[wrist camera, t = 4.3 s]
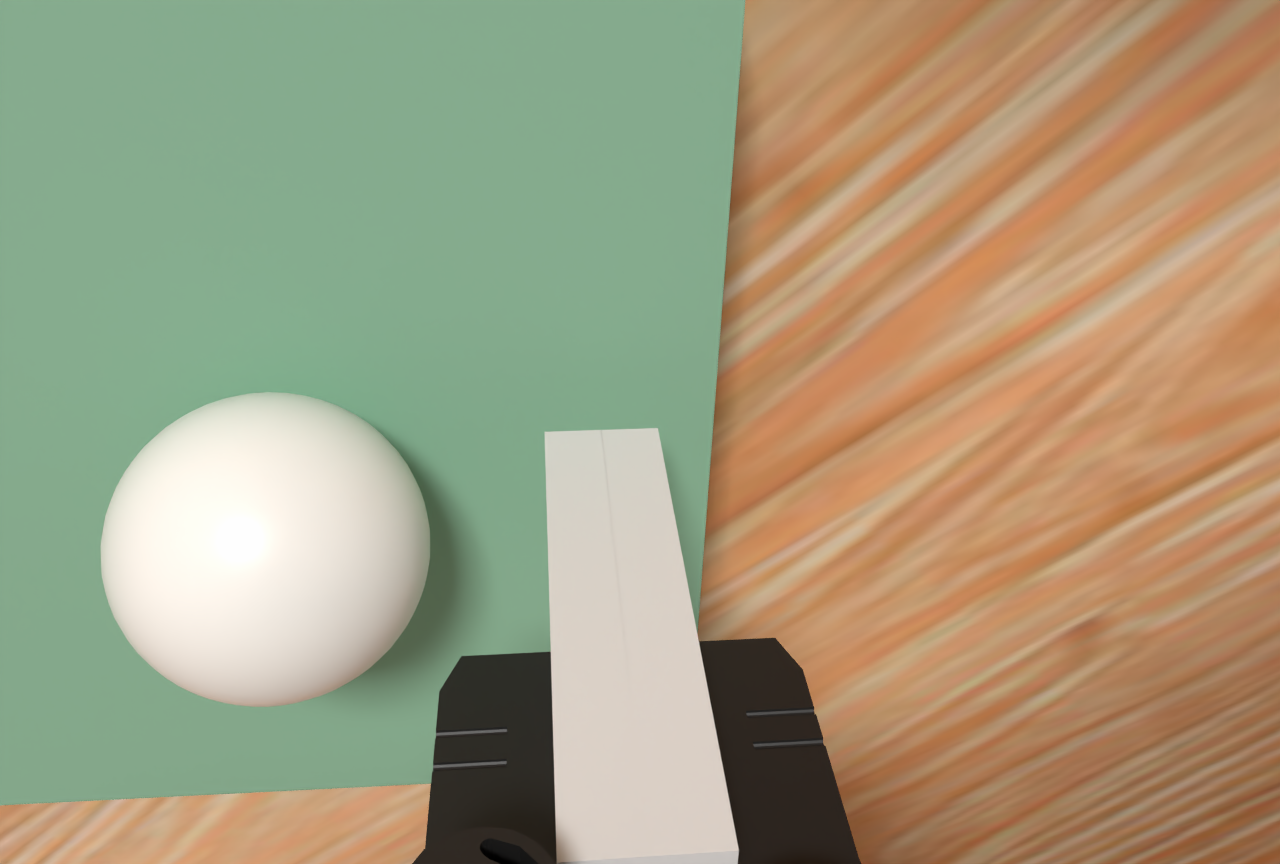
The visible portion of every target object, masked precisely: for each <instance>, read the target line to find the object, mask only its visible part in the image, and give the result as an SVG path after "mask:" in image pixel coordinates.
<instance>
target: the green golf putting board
mask: <svg viewBox="0 0 1280 864" xmlns="http://www.w3.org/2000/svg"><path fill="white" fill-rule="evenodd" d="M744 10H745V0H0V805H15V804H35V803H55V802H75V801H94V800H114V799H134V798H154V797H174V796H193V795H213V794H233V793H253V792H273V791H292V790H312V789H332V788H352V787H372V786H391V785H411V784H431V779H432V771H433V757H434V745H435V738H436V723H437V712H438V700H439V691H440V689H441V688H442V686H443V685H444V683H445V681H446V680H447V678H448V677H449V675H450V673H451V672H452V670H453V669H454V667H455V665H456V664H457V662H458V661H459V659H460V657H461V656H473V655H493V654H513V653H533V652H551V643H550V607H549V572H548V537H547V502H546V467H545V432H552V431H582V430H613V429H643V428H658V432H659V437H660V442H661V447H662V452H663V458H664V463H665V468H666V473H667V478H668V484H669V489H670V494H671V499H672V504H673V510H674V515H675V520H676V525H677V531H678V536H679V541H680V546H681V551H682V557H683V562H684V567H685V572H686V577H687V583H688V588H689V593H690V598H691V603H692V609H693V614H694V619H695V624H696V630H697V633H698V620H699V606H700V593H701V580H702V567H703V553H704V540H705V527H706V514H707V500H708V487H709V474H710V461H711V447H712V434H713V421H714V408H715V394H716V381H717V368H718V355H719V341H720V328H721V315H722V302H723V288H724V275H725V262H726V249H727V236H728V222H729V209H730V196H731V183H732V169H733V156H734V143H735V130H736V116H737V103H738V90H739V77H740V63H741V50H742V37H743V24H744ZM262 392H279V393H291V394H298V395H305V396H309V397H312V398H316V399H320V400H323V401H326V402H329V403H331V404H334V405H337V406H339V407H341V408H343V409H345V410H347V411H349V412H351V413H353V414H355V415H357V416H358V417H360V418H361V419H363V420H364V421H366V422H367V423H369V424H370V425H371V426H372V427H374V428H375V429H376V430H377V431H378V432H380V433H381V434H382V435H383V436H384V437H385V438H386V439H387V440H388V441H389V442H390V444H391V445H392V446H393V447H394V448H395V449H396V450H397V451H398V452H399V454H400V455H401V456H402V458H403V459H404V461H405V462H406V463H407V465H408V467H409V468H410V470H411V472H412V474H413V476H414V478H415V480H416V482H417V484H418V486H419V488H420V491H421V494H422V497H423V500H424V502H425V507H426V511H427V516H428V522H429V528H430V561H429V567H428V573H427V578H426V582H425V586H424V589H423V592H422V595H421V598H420V601H419V603H418V605H417V608H416V610H415V612H414V614H413V616H412V618H411V619H410V621H409V623H408V625H407V627H406V628H405V629H404V631H403V632H402V634H401V635H400V636H399V638H398V639H397V640H396V642H395V643H394V644H393V646H392V647H391V648H390V649H389V650H388V651H387V652H386V653H385V654H384V655H383V656H382V657H381V658H380V659H379V660H378V661H377V662H376V663H375V664H374V665H373V666H371V667H370V668H369V669H368V670H366V671H365V672H364V673H362V674H361V675H360V676H358V677H357V678H355V679H353V680H352V681H350V682H348V683H347V684H345V685H343V686H341V687H339V688H338V689H336V690H334V691H331V692H329V693H327V694H324V695H322V696H319V697H315V698H312V699H309V700H305V701H302V702H298V703H293V704H288V705H282V706H271V707H250V706H239V705H233V704H227V703H222V702H218V701H215V700H211V699H207V698H205V697H202V696H199V695H197V694H194V693H192V692H189V691H187V690H185V689H183V688H181V687H179V686H178V685H176V684H174V683H173V682H171V681H170V680H168V679H166V678H165V677H164V676H162V675H161V674H160V673H159V672H157V671H156V670H155V669H154V668H153V667H151V666H150V665H149V664H148V663H147V662H146V661H145V660H144V659H143V658H142V657H141V656H140V655H139V654H138V653H137V652H136V651H135V649H134V648H133V647H132V646H131V644H130V643H129V642H128V640H127V639H126V637H125V635H124V634H123V632H122V630H121V629H120V627H119V625H118V623H117V622H116V620H115V618H114V616H113V613H112V611H111V608H110V606H109V603H108V600H107V596H106V593H105V589H104V584H103V579H102V572H101V548H100V546H101V539H102V532H103V526H104V520H105V515H106V512H107V510H108V507H109V504H110V501H111V498H112V496H113V493H114V491H115V489H116V486H117V485H118V483H119V481H120V479H121V478H122V476H123V474H124V472H125V471H126V469H127V468H128V466H129V465H130V464H131V462H132V461H133V460H134V458H135V457H136V456H137V455H138V453H139V452H140V451H141V450H142V448H143V447H144V446H145V445H147V444H148V443H149V442H150V441H151V440H152V439H153V438H154V437H155V436H156V435H158V434H159V433H160V432H161V431H162V430H163V429H164V428H165V427H167V426H168V425H170V424H171V423H173V422H174V421H176V420H178V419H179V418H181V417H182V416H184V415H186V414H188V413H189V412H191V411H194V410H196V409H198V408H200V407H202V406H204V405H206V404H209V403H212V402H215V401H218V400H222V399H225V398H229V397H234V396H239V395H244V394H249V393H262Z"/></svg>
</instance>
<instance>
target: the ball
mask: <svg viewBox="0 0 1280 864" xmlns="http://www.w3.org/2000/svg"><path fill="white" fill-rule="evenodd" d="M100 548H101V572H102V579H103V584H104V589H105V593H106V596H107V600H108V603H109V606H110V608H111V611H112V613H113V616H114V618H115V620H116V622H117V623H118V625H119V627H120V629H121V630H122V632H123V634H124V635H125V637H126V639H127V640H128V642H129V643H130V644H131V646H132V647H133V648H134V649H135V651H136V652H137V653H138V654H139V655H140V656H141V657H142V658H143V659H144V660H145V661H146V662H147V663H148V664H149V665H150V666H151V667H153V668H154V669H155V670H156V671H157V672H159V673H160V674H161V675H162V676H164V677H165V678H166V679H168V680H170V681H171V682H173V683H174V684H176V685H178V686H179V687H181V688H183V689H185V690H187V691H189V692H192V693H194V694H197V695H199V696H202V697H205V698H207V699H211V700H215V701H218V702H222V703H227V704H233V705H239V706H250V707H271V706H282V705H288V704H293V703H298V702H302V701H305V700H309V699H312V698H315V697H319V696H322V695H324V694H327V693H329V692H331V691H334V690H336V689H338V688H339V687H341V686H343V685H345V684H347V683H348V682H350V681H352V680H353V679H355V678H357V677H358V676H360V675H361V674H362V673H364V672H365V671H366V670H368V669H369V668H370V667H371V666H373V665H374V664H375V663H376V662H377V661H378V660H379V659H380V658H381V657H382V656H383V655H384V654H385V653H386V652H387V651H388V650H389V649H390V648H391V647H392V646H393V644H394V643H395V642H396V640H397V639H398V638H399V636H400V635H401V634H402V632H403V631H404V629H405V628H406V627H407V625H408V623H409V621H410V619H411V618H412V616H413V614H414V612H415V610H416V608H417V605H418V603H419V601H420V598H421V595H422V592H423V589H424V586H425V582H426V578H427V573H428V567H429V561H430V528H429V522H428V516H427V511H426V507H425V502H424V500H423V497H422V494H421V491H420V488H419V486H418V484H417V482H416V480H415V478H414V476H413V474H412V472H411V470H410V468H409V467H408V465H407V463H406V462H405V461H404V459H403V458H402V456H401V455H400V454H399V452H398V451H397V450H396V449H395V448H394V447H393V446H392V445H391V444H390V442H389V441H388V440H387V439H386V438H385V437H384V436H383V435H382V434H381V433H380V432H378V431H377V430H376V429H375V428H374V427H372V426H371V425H370V424H369V423H367V422H366V421H364V420H363V419H361V418H360V417H358V416H357V415H355V414H353V413H351V412H349V411H347V410H345V409H343V408H341V407H339V406H337V405H334V404H331V403H329V402H326V401H323V400H320V399H316V398H312V397H309V396H305V395H298V394H291V393H279V392H262V393H249V394H244V395H239V396H234V397H229V398H225V399H222V400H218V401H215V402H212V403H209V404H206V405H204V406H202V407H200V408H198V409H196V410H194V411H191V412H189V413H188V414H186V415H184V416H182V417H181V418H179V419H178V420H176V421H174V422H173V423H171V424H170V425H168V426H167V427H165V428H164V429H163V430H162V431H161V432H160V433H159V434H158V435H156V436H155V437H154V438H153V439H152V440H151V441H150V442H149V443H148V444H147V445H145V446H144V447H143V448H142V450H141V451H140V452H139V453H138V455H137V456H136V457H135V458H134V460H133V461H132V462H131V464H130V465H129V466H128V468H127V469H126V471H125V472H124V474H123V476H122V478H121V479H120V481H119V483H118V485H117V486H116V489H115V491H114V493H113V496H112V498H111V501H110V504H109V507H108V510H107V512H106V515H105V520H104V526H103V532H102V539H101V546H100Z"/></svg>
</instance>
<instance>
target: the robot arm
mask: <svg viewBox="0 0 1280 864" xmlns="http://www.w3.org/2000/svg"><path fill="white" fill-rule="evenodd" d="M545 467H546V502H547V537H548V572H549V607H550V643H551V652H533V653H513V654H493V655H473V656H461V657H460V659H459V661H458V662H457V664H456V665H455V667H454V669H453V670H452V672H451V673H450V675H449V677H448V678H447V680H446V681H445V683H444V685H443V686H442V688H441V689H440V691H439V700H438V712H437V723H436V738H435V745H434V757H433V771H432V779H431V790H430V801H429V813H428V824H427V835H426V846H425V849H424V850H423V852H422V853H421V854H420V855H419V856H418V858H417V859H416V860H415V861H414V862H413V863H412V864H861V862H860V860H859V858H858V854H857V851H856V847H855V844H854V841H853V837H852V834H851V831H850V827H849V824H848V820H847V817H846V814H845V810H844V807H843V804H842V800H841V797H840V794H839V790H838V787H837V783H836V780H835V777H834V773H833V770H832V767H831V763H830V760H829V757H828V753H827V750H826V746H824V745H823V736H822V733H821V730H820V726H819V723H818V720H817V716H816V715H814V706H813V703H812V699H811V696H810V693H809V689H808V686H807V683H806V679H805V676H804V672H803V669H802V668H801V667H800V666H799V665H798V664H797V663H796V661H795V660H794V659H793V658H792V657H791V656H790V655H789V653H788V652H787V651H786V650H785V649H784V648H783V647H782V645H781V644H780V643H779V642H778V641H777V640H776V638H762V639H741V640H721V641H701V642H699V640H698V635H697V630H696V624H695V619H694V614H693V609H692V603H691V598H690V593H689V588H688V583H687V577H686V572H685V567H684V562H683V557H682V551H681V546H680V541H679V536H678V531H677V525H676V520H675V515H674V510H673V504H672V499H671V494H670V489H669V484H668V478H667V473H666V468H665V463H664V458H663V452H662V447H661V442H660V437H659V432H658V428H643V429H613V430H582V431H552V432H545Z"/></svg>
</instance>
